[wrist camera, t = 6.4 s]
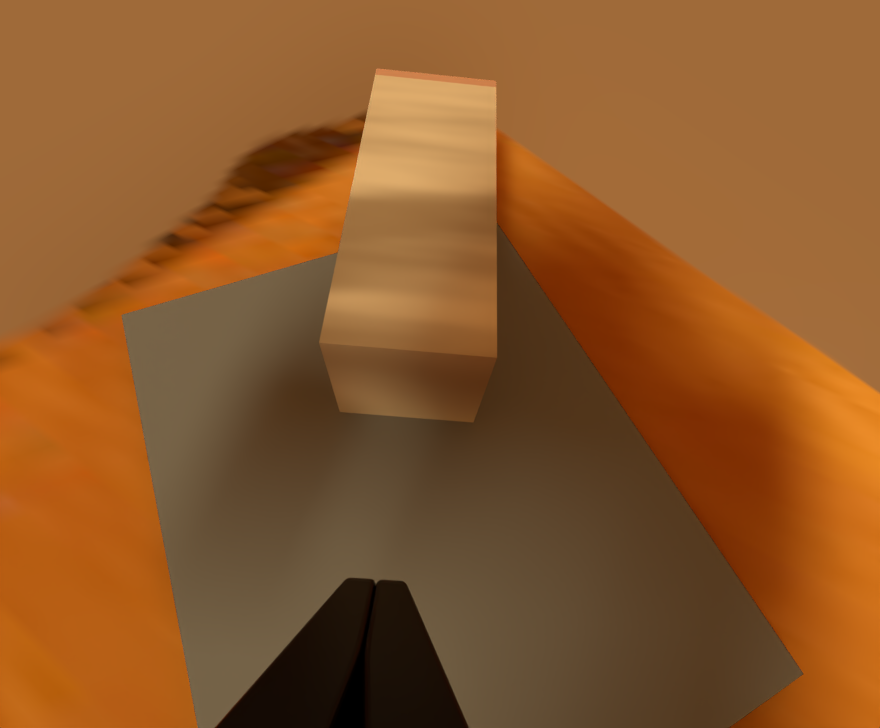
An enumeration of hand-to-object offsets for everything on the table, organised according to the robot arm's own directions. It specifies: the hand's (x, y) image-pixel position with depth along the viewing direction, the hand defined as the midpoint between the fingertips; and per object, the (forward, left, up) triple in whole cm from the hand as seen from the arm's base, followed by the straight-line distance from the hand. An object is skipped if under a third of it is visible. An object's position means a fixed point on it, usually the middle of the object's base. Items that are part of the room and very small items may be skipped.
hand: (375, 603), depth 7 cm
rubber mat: (+2, +3, -8) cm, 9 cm away
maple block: (+3, +5, -5) cm, 8 cm away
